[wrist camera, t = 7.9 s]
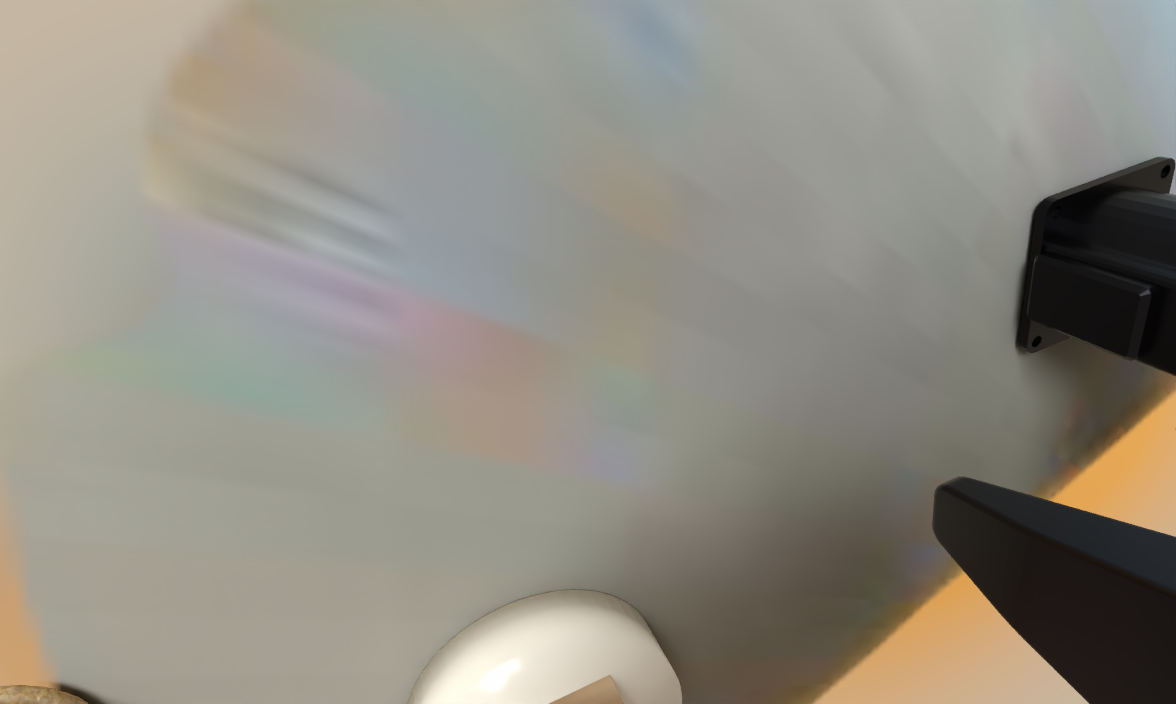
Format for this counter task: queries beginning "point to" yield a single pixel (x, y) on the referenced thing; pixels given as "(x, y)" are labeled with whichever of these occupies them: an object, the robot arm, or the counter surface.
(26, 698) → the sprinkles bottle
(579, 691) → the beech cube
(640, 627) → the ceramic stand
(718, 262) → the counter surface
